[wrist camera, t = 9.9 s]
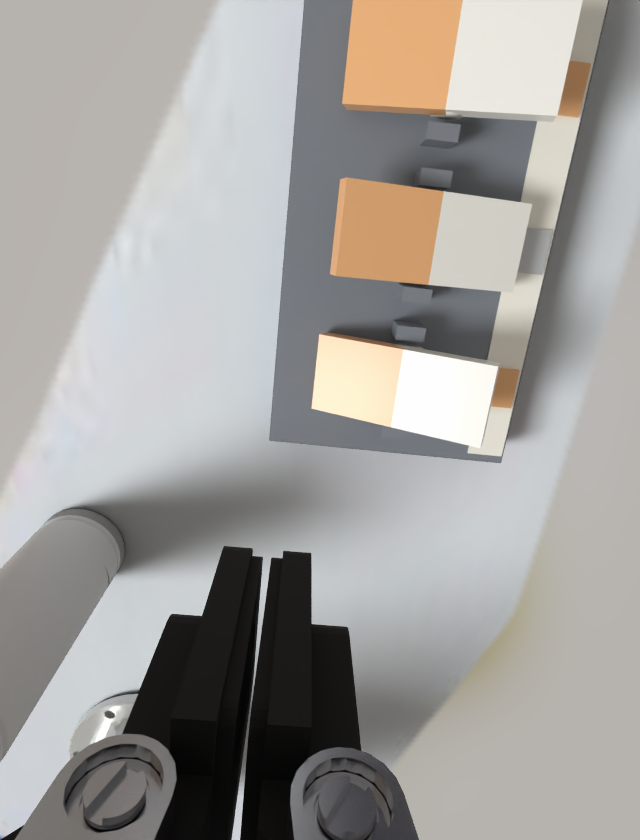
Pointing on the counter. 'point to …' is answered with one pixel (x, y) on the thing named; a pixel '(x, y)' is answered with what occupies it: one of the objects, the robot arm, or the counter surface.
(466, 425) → the switch
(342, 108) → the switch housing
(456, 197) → the switch
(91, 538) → the travel mug
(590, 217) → the counter surface
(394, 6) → the switch
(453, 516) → the counter surface
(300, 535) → the counter surface
